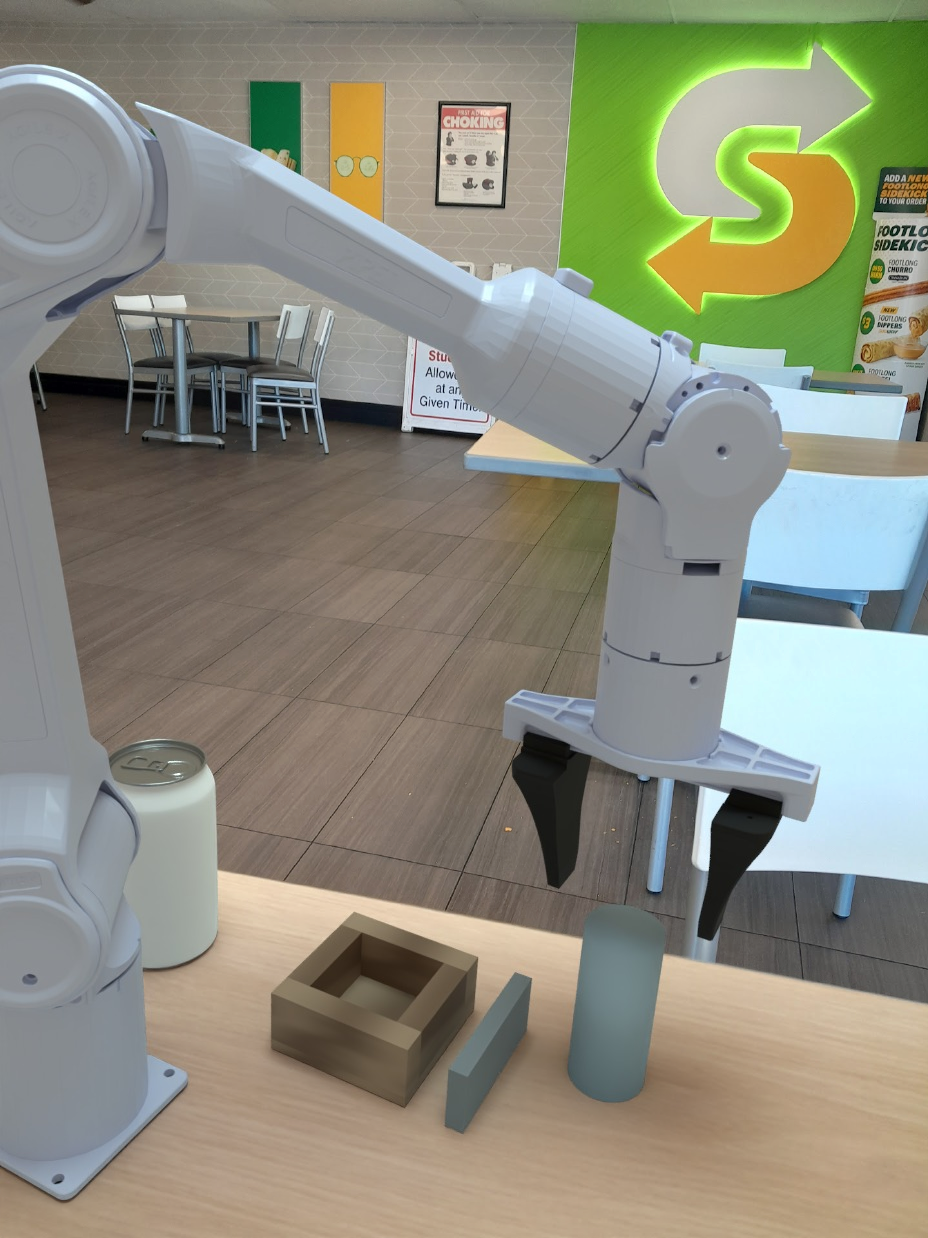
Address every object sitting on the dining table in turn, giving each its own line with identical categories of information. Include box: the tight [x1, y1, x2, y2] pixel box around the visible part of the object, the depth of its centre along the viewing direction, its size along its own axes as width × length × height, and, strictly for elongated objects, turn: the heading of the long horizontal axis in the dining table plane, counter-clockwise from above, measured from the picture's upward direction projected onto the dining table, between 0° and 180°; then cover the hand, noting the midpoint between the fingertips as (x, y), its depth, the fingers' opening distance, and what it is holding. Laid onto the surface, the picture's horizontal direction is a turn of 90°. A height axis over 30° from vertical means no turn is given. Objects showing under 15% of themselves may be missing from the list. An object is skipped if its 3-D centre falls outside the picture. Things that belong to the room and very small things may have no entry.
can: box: [108, 738, 219, 970], centre depth 58 cm, size 6×6×12 cm
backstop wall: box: [443, 971, 533, 1135], centre depth 51 cm, size 1×8×4 cm, turn 154°
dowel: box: [566, 903, 667, 1104], centre depth 50 cm, size 4×4×9 cm
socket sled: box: [270, 911, 479, 1108], centre depth 53 cm, size 8×8×4 cm
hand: (632, 902), depth 49 cm, fingers open, 7 cm apart
